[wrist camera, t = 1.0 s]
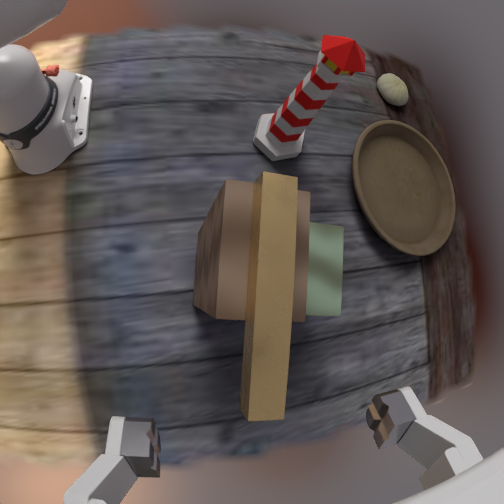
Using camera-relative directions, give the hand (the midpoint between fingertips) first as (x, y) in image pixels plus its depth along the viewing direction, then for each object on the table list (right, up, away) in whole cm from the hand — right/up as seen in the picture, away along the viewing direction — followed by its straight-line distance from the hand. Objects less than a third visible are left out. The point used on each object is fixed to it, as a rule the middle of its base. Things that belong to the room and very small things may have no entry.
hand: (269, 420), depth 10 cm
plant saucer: (+33, +20, +56) cm, 68 cm away
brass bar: (0, +2, +17) cm, 17 cm away
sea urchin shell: (+34, +47, +60) cm, 83 cm away
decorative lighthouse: (+4, +28, +50) cm, 57 cm away
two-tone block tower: (-1, +2, +45) cm, 45 cm away
